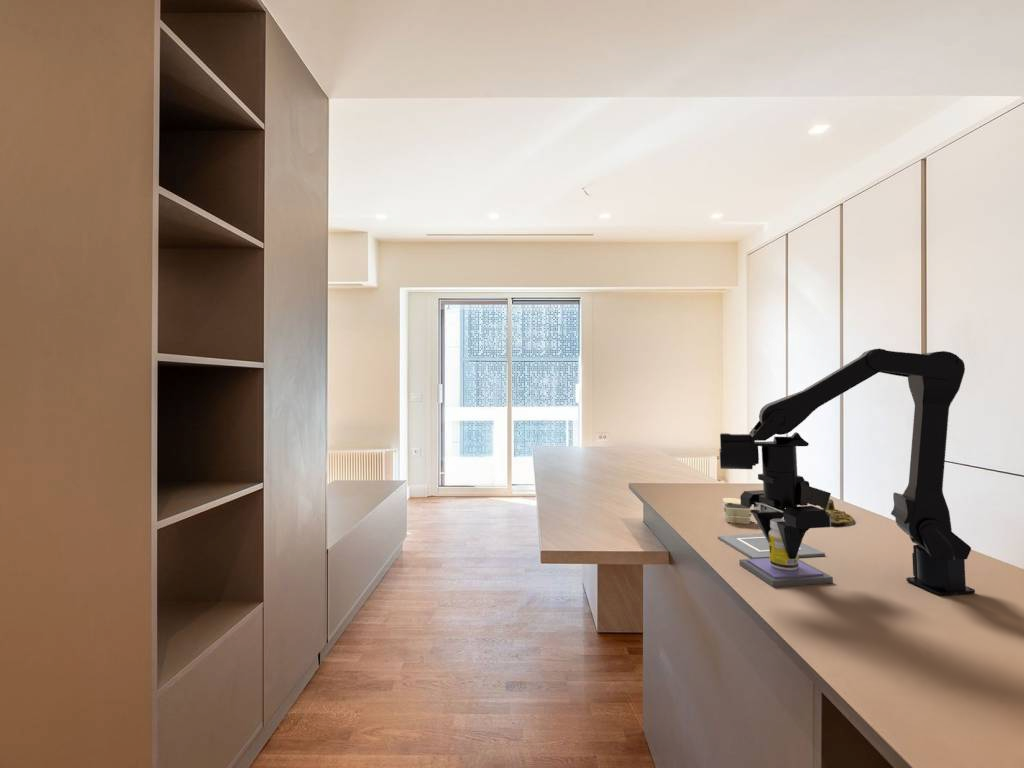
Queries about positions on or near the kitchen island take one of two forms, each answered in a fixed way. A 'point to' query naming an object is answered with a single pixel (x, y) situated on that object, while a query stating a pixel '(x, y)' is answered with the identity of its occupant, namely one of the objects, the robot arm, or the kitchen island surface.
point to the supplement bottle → (779, 549)
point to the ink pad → (785, 573)
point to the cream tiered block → (736, 511)
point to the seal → (838, 516)
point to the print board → (761, 546)
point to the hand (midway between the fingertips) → (783, 554)
